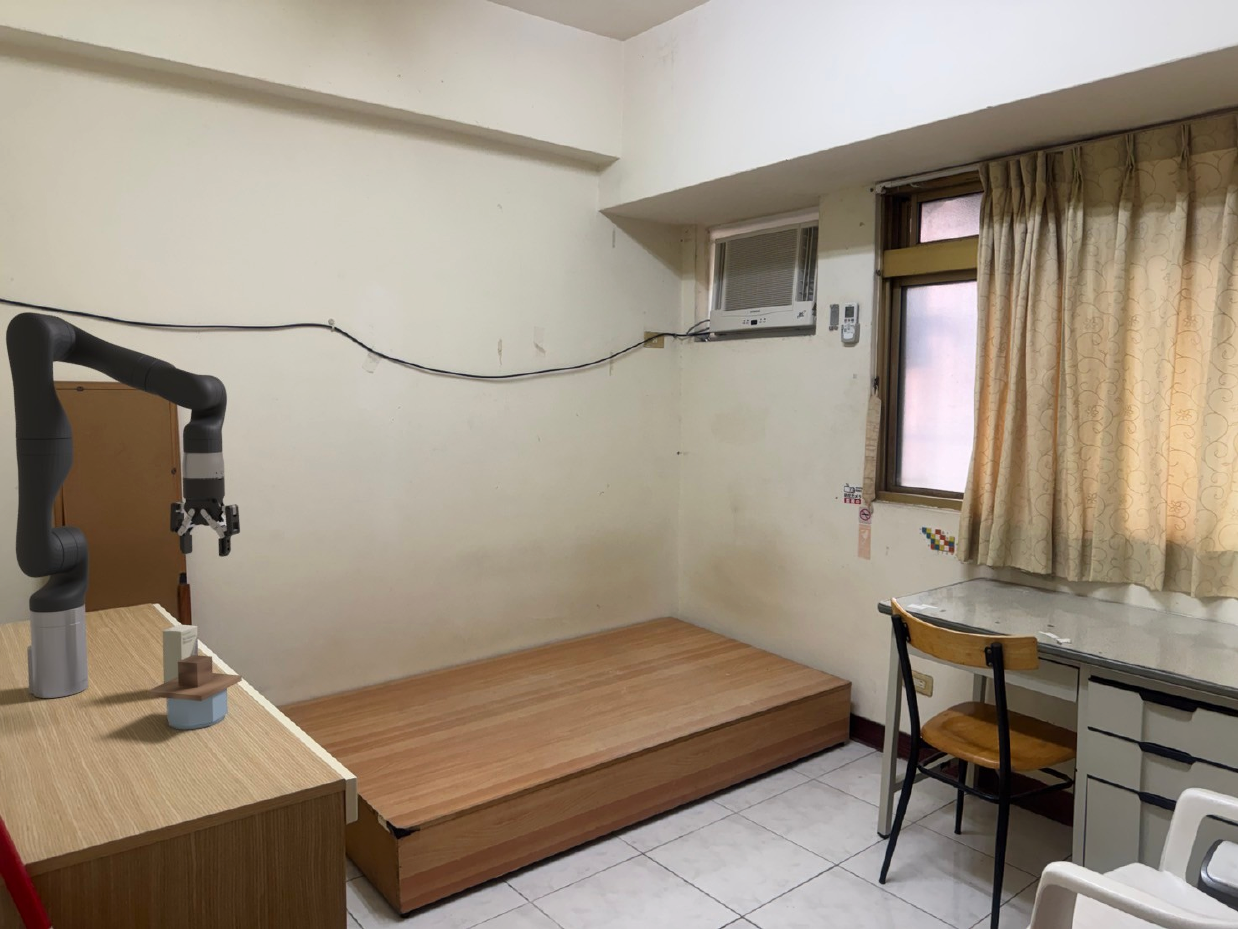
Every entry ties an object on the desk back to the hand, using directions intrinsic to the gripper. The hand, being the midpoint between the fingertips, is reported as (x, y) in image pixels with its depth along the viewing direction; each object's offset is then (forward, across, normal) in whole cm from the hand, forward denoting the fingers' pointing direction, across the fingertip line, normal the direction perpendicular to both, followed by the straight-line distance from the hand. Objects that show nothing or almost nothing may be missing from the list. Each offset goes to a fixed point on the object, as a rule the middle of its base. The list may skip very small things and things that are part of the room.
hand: (205, 554), depth 167 cm
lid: (+22, +9, -15) cm, 28 cm away
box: (+28, -5, -2) cm, 29 cm away
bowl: (+28, +9, -14) cm, 33 cm away
